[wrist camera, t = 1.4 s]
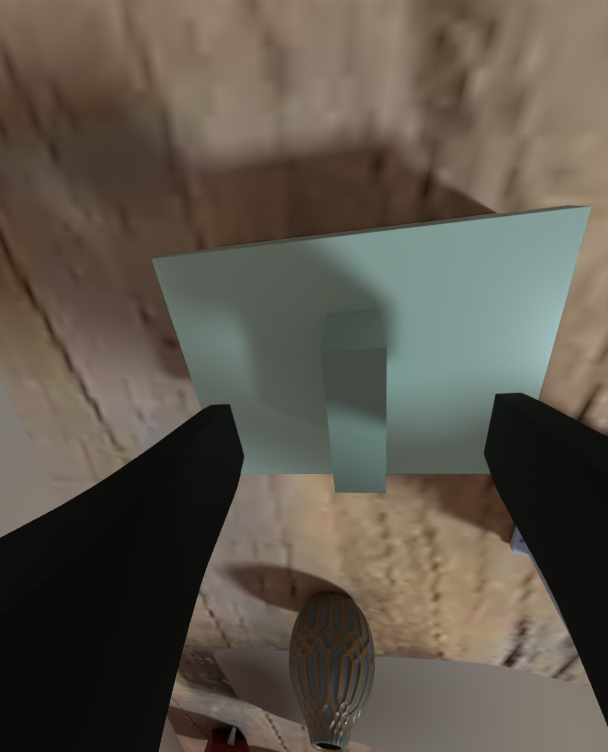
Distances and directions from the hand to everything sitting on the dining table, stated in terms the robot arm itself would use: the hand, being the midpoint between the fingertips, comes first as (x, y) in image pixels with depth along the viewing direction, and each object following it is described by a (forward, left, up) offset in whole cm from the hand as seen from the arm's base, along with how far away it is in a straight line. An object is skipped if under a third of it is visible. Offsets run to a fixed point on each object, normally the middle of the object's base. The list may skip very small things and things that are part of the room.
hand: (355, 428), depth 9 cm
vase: (-27, +3, -8) cm, 28 cm away
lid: (0, 0, -5) cm, 5 cm away
